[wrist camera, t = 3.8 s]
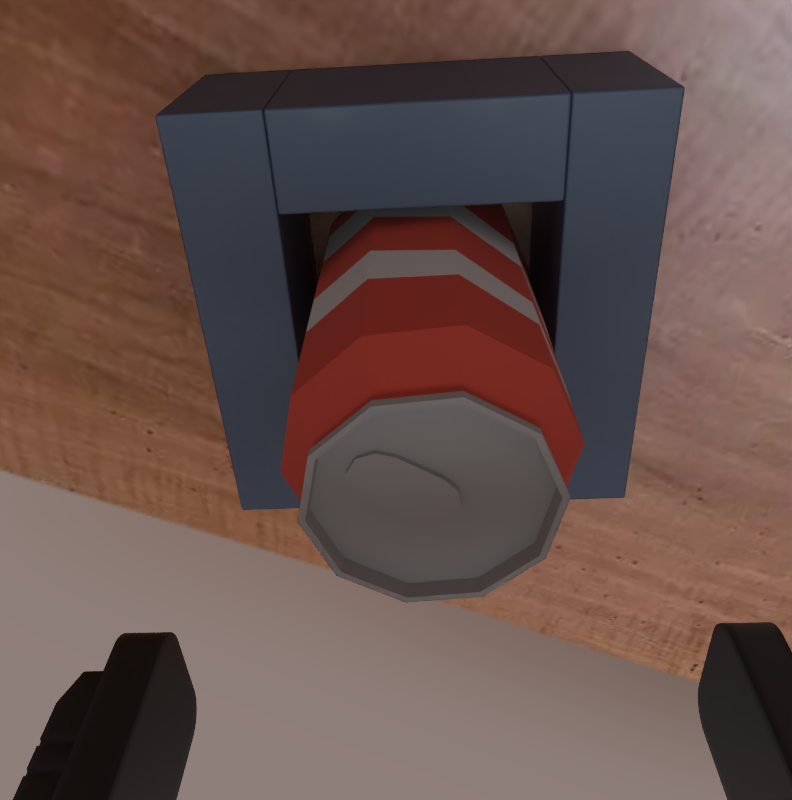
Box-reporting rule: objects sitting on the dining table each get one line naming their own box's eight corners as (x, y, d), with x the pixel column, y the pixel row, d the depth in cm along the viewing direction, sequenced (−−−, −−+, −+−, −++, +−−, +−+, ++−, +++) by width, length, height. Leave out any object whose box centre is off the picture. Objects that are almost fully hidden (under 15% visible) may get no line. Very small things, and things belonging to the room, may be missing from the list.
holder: (266, 420, 28) (241, 510, 24) (204, 74, 21) (154, 115, 17) (592, 408, 27) (625, 498, 23) (630, 50, 21) (685, 86, 17)
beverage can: (379, 128, 22) (354, 311, 12) (557, 229, 24) (667, 464, 14) (294, 293, 25) (218, 551, 15) (458, 373, 27) (488, 654, 17)
